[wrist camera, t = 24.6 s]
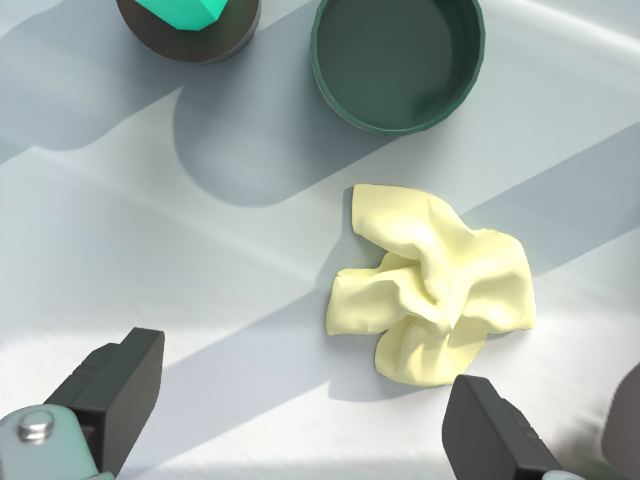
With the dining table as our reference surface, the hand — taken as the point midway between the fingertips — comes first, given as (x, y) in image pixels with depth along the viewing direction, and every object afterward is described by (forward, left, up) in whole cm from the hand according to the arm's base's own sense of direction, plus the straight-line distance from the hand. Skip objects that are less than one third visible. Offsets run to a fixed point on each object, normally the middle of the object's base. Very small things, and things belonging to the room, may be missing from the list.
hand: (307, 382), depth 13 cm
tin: (-10, -10, -30) cm, 33 cm away
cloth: (-8, +11, -30) cm, 33 cm away
